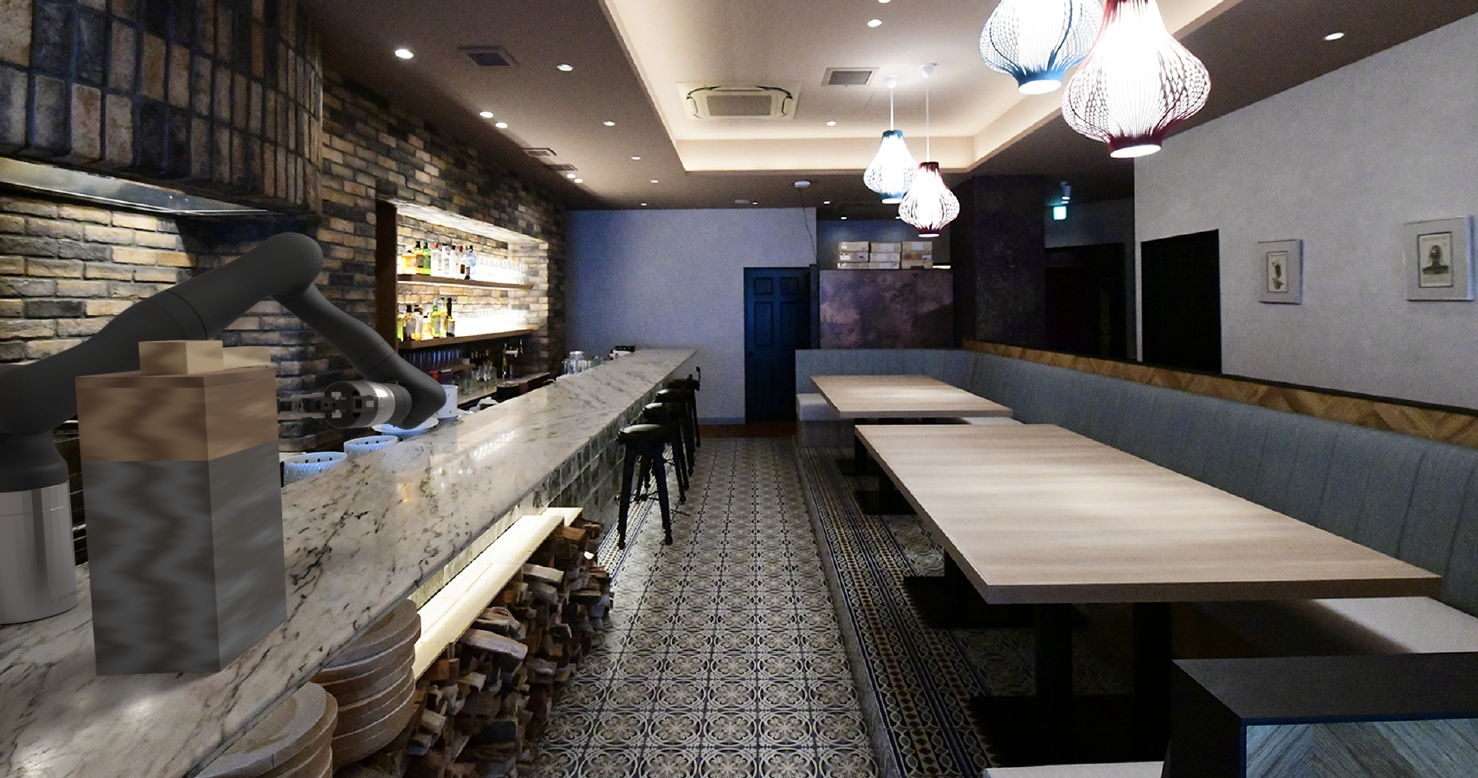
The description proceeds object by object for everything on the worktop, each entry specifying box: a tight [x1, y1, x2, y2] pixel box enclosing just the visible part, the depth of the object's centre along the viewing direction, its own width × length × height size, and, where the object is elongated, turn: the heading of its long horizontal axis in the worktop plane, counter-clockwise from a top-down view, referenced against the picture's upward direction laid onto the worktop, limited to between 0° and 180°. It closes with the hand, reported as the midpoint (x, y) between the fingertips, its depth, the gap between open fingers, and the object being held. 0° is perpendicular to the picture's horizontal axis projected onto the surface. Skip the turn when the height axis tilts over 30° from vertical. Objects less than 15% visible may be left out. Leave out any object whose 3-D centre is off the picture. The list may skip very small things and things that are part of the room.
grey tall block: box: [75, 367, 288, 676], centre depth 91 cm, size 13×15×33 cm
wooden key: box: [139, 340, 272, 374], centre depth 95 cm, size 5×20×4 cm, turn 5°
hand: (285, 406), depth 108 cm, fingers open, 8 cm apart
